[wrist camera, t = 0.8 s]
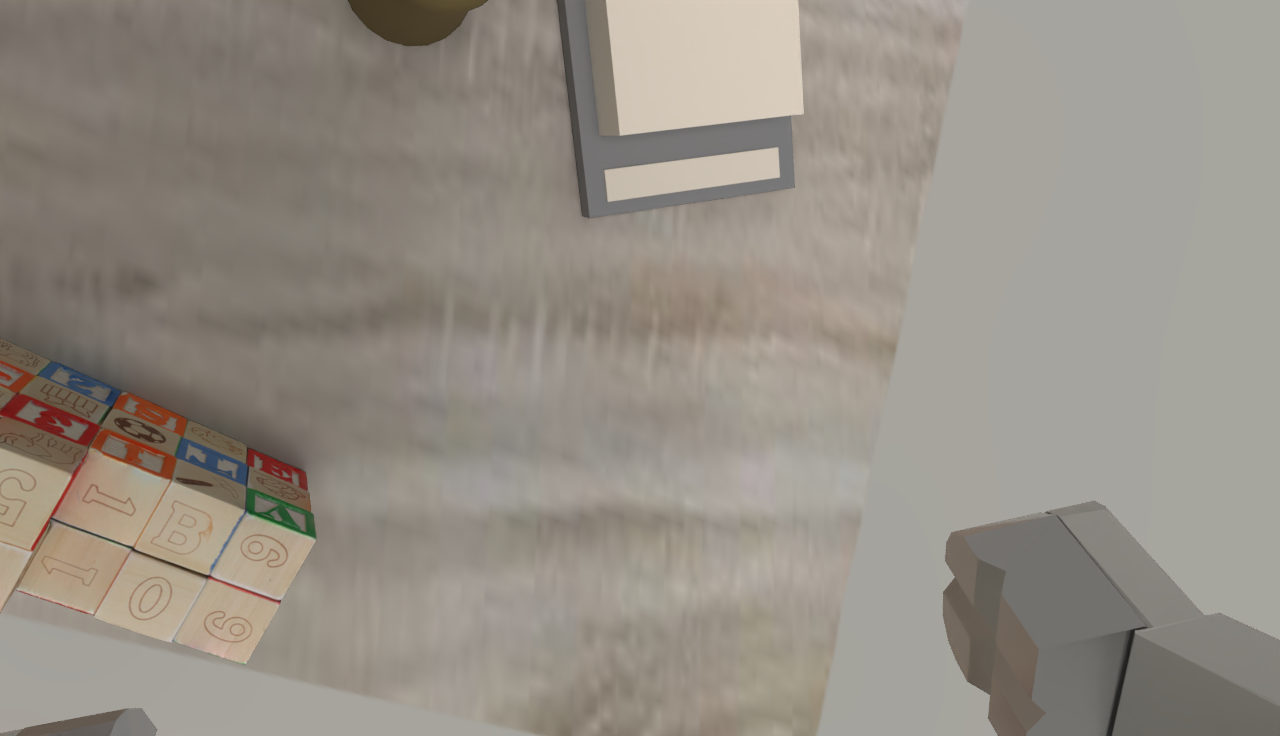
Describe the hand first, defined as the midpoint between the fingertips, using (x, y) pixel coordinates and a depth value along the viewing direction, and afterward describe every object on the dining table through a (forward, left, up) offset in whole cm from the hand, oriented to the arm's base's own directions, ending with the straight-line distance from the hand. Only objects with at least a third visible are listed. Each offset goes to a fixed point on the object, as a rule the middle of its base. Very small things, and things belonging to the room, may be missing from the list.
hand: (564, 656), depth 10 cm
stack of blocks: (+7, -13, -39) cm, 42 cm away
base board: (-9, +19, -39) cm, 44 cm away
